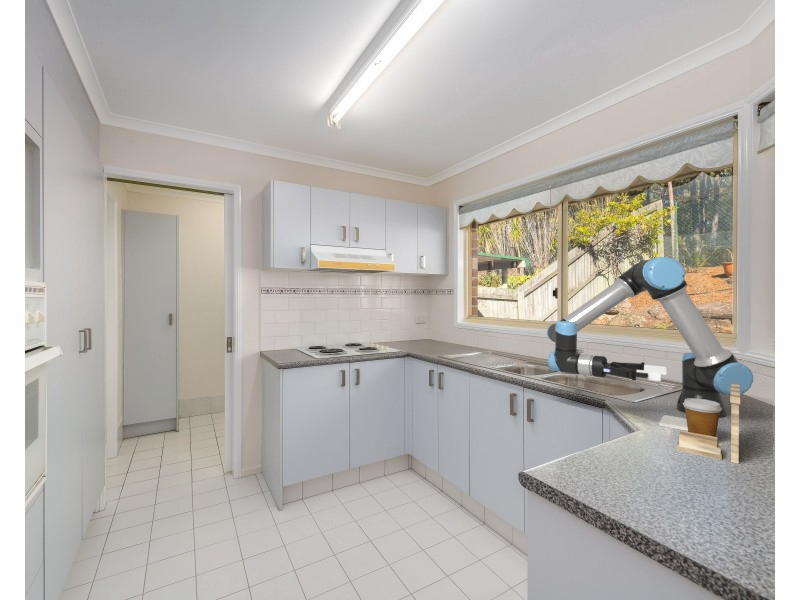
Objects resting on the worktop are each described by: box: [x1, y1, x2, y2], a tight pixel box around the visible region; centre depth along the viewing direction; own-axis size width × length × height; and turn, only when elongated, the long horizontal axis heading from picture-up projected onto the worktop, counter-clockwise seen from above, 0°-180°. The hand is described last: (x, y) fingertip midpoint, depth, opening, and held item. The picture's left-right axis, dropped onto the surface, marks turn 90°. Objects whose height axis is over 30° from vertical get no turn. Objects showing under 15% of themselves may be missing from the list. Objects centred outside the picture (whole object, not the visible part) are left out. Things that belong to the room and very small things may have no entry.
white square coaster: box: [658, 414, 688, 432], centre depth 134 cm, size 12×12×1 cm
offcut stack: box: [675, 430, 723, 461], centre depth 110 cm, size 6×10×5 cm, turn 49°
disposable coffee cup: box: [683, 398, 722, 437], centre depth 119 cm, size 10×10×12 cm
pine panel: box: [729, 383, 741, 465], centre depth 112 cm, size 25×2×17 cm, turn 139°
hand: (664, 373), depth 125 cm, fingers open, 13 cm apart
